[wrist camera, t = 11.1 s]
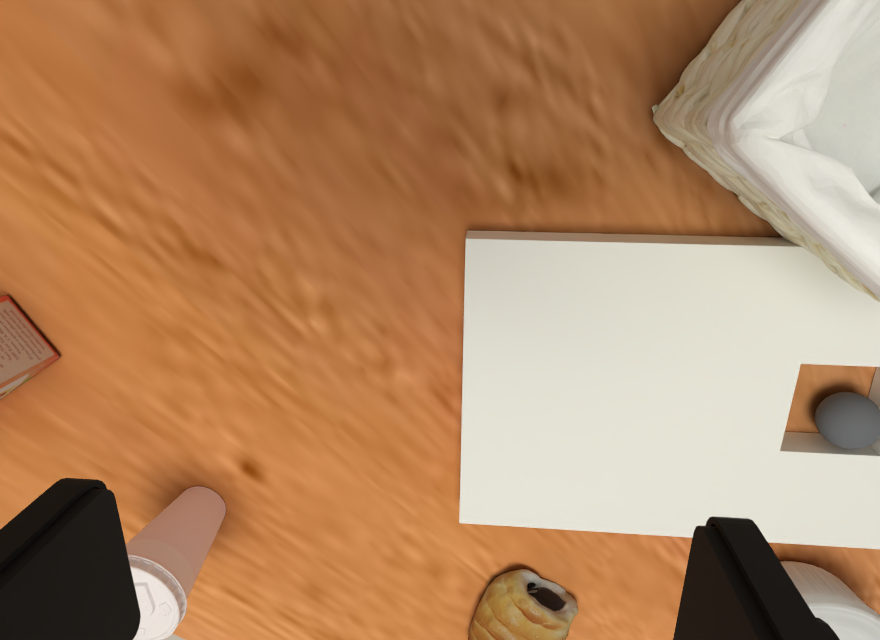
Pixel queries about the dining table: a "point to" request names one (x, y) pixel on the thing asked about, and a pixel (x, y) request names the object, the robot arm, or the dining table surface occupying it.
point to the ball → (848, 420)
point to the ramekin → (834, 602)
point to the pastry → (523, 609)
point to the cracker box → (20, 348)
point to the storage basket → (792, 124)
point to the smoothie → (172, 558)
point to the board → (659, 386)
